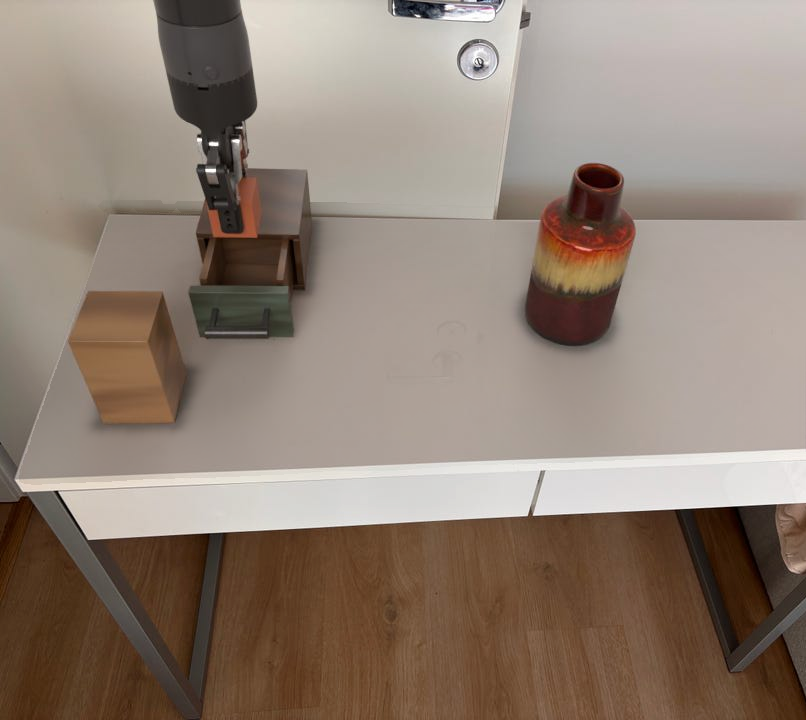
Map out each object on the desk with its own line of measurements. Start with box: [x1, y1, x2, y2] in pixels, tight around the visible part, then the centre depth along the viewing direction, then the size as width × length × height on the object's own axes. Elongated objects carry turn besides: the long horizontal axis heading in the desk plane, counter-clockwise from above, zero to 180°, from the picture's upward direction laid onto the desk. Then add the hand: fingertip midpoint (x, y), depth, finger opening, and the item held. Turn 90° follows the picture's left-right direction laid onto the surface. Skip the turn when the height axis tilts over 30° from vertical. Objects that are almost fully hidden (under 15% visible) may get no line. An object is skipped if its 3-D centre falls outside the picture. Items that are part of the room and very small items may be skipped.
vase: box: [524, 162, 637, 347], centre depth 87 cm, size 11×11×20 cm
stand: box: [67, 290, 187, 425], centre depth 76 cm, size 7×7×12 cm
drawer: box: [187, 238, 296, 340], centre depth 87 cm, size 17×10×7 cm, turn 5°
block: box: [206, 177, 262, 238], centre depth 79 cm, size 4×4×4 cm
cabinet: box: [195, 167, 313, 291], centre depth 95 cm, size 14×12×9 cm
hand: (236, 216), depth 80 cm, fingers closed on block, 4 cm apart
